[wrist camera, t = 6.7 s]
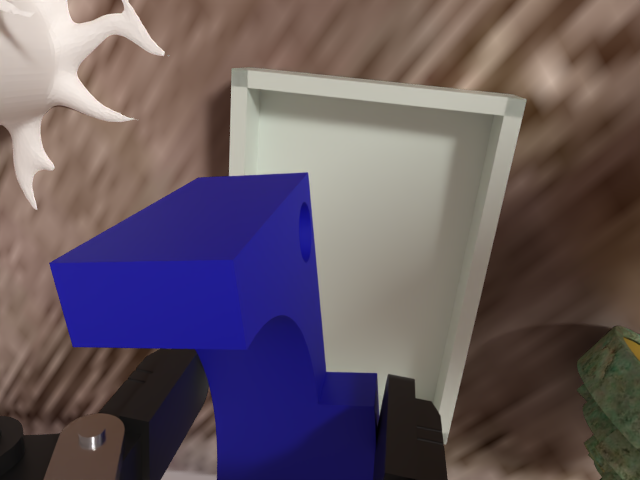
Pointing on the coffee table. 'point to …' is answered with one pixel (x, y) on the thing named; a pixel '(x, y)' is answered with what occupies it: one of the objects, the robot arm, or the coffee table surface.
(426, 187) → the parts tray
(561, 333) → the coffee table surface
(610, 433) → the decorative artifact
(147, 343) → the blue curved bracket
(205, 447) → the coffee table surface
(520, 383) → the coffee table surface
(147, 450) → the robot arm
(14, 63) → the tree stump
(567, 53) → the coffee table surface
